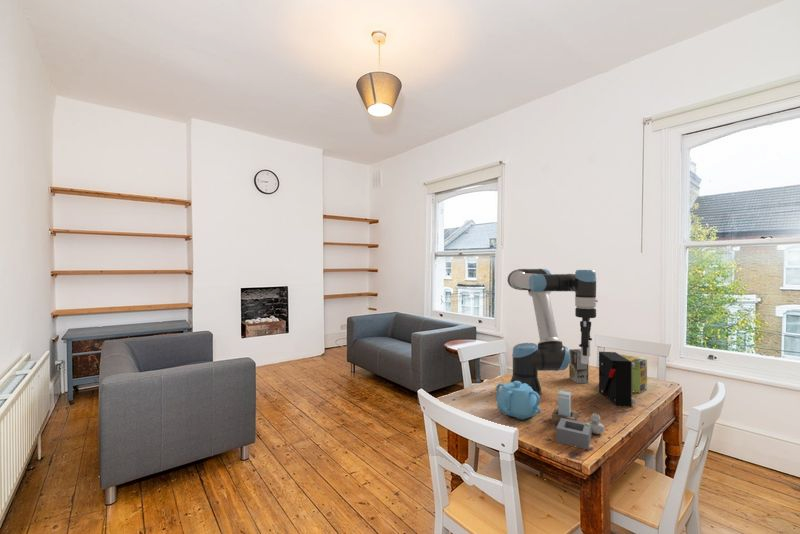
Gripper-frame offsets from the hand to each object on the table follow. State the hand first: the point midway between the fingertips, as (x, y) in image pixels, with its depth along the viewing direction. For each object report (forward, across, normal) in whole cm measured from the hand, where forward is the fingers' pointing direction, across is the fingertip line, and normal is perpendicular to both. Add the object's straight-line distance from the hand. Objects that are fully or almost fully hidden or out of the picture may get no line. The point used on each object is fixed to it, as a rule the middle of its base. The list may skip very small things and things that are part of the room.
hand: (585, 359), depth 144 cm
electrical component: (+24, +31, -11) cm, 41 cm away
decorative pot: (+24, -10, +25) cm, 36 cm away
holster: (+24, -10, +7) cm, 27 cm away
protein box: (+24, +52, -16) cm, 60 cm away
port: (+24, -23, +3) cm, 33 cm away
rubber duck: (+24, -12, -4) cm, 27 cm away
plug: (+24, -10, +7) cm, 27 cm away
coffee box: (+24, +53, +6) cm, 58 cm away
